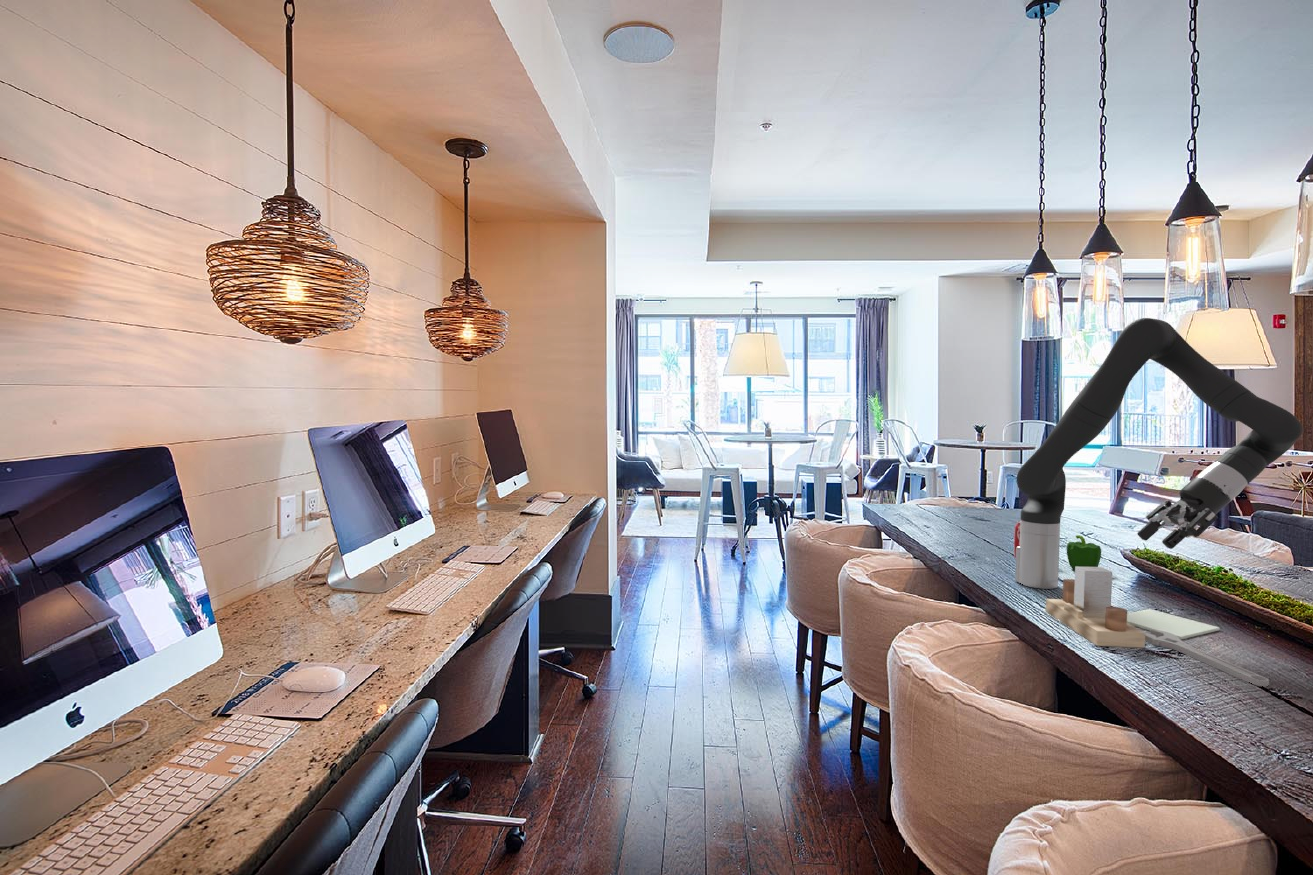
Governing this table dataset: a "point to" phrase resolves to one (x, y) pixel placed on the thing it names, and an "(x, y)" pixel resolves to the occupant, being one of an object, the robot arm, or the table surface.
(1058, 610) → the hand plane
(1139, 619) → the mat
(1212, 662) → the adjustable wrench
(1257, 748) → the table surface
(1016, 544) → the soda can
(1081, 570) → the grey block
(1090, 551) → the bell pepper
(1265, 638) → the table surface
